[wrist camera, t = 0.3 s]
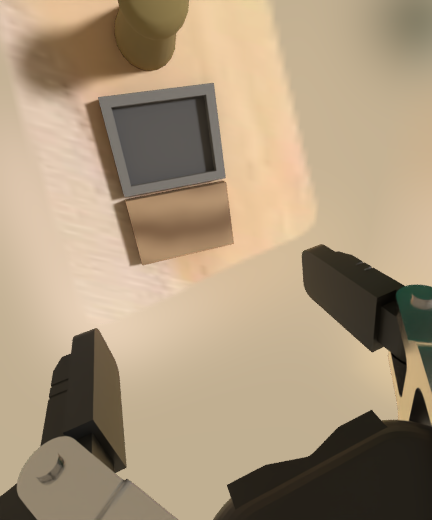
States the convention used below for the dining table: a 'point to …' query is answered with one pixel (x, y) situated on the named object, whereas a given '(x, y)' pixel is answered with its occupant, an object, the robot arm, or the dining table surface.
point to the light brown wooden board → (181, 221)
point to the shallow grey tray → (164, 138)
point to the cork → (149, 30)
